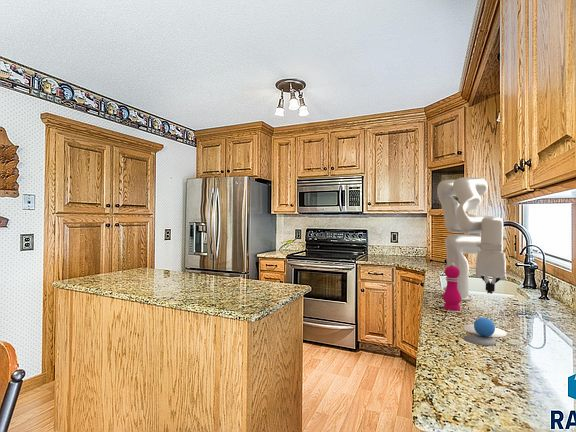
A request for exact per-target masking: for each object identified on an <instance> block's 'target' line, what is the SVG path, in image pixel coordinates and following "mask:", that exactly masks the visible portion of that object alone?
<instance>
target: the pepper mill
mask: <svg viewBox="0 0 576 432" xmlns="http://www.w3.org/2000/svg"><path fill="white" fill-rule="evenodd" d="M454 265H455V264H454V263H450V266H448V267H447V266H446V267H445V269H444V274H445V280H446V286H447V287H446V286H445V287H446V290H444V292H443V295H442V300H443V301H444V303H443V308H444V309H446V310H449V311H455V312H457V311H460V310H461V305H460V304H461V302H462V300H461V295H460V293H459V291H458V287H457V283H458V281H459V280H458V279H459V278H458V276H459V275H460V270H459V269H458V268H457V267H455V266H454Z"/></svg>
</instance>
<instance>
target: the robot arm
mask: <svg viewBox="0 0 576 432" xmlns="http://www.w3.org/2000/svg"><path fill="white" fill-rule="evenodd" d="M436 189H437V190H436V192H437V198H438V200H439V202H440V205H441V207H442V212H443V218H444V225H445V229H446V231H448V232H450V233H452V234H449V235H447V236H446V237H445V239H444V245H445V252H446V267H448V266H450V263H454V264H455V265H454V266H455V267H457V268H458V269H459V270H460V275H459V276H458V278H459V279H458V280H459V281H458V283H457V287H458V291H459V293H460V295H461V302H462V301H466V302H467V301H472V300H473V296H471V295H470V294H469V274H470V273H469V271H470V269H469V268H470V267H469V261H468V259H467V258H466V256H465V255H464V254H471V255H473V254H474V255H476V261H475V275H474V276H475V278H476V277H477V278H479V279H482V281H483V282H484V283H485V291H487V293H486V294H491V295H492V294H493V292H494V293H495V292H496V291H495V290H496V289H495V288H496V287H495V286H496V285H495V284H497V282H499V281H500V282H501V281H506V280H507V275H506V274H507V273H506V272H507V263H506V253H505V251H503V249H504V248H503V247H504V245H503V243H504V241H503V240H504V219H503V218H501V217H497V216H493V215H492V216H491V215H476V214H472V213H470V214H469V213H468V212H470V211H472V210H475V209H476V208H478V207H479V206H480V205H481V204H482V197H481V196H483V195H485V194H486V193H487V192H488V182H487V181H486V180H485V178H483V177H471V176H470V177H468V176H466V177H459V178H457V179H444V180H442V181H440V182H439V183H438V185H437V188H436ZM454 197H456V198H457V199H458V200H457V199H455V198H454ZM489 277H492V279H491V281H490V278H489ZM446 287H447V285H446V286H445V287H443V288H442V291H445V290H446Z"/></svg>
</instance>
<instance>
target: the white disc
mask: <svg viewBox="0 0 576 432" xmlns="http://www.w3.org/2000/svg"><path fill="white" fill-rule="evenodd" d="M462 329H463V330H464V331H466V332H468V333H470V334H472V335H479V334H478V333H477V332H476V331H475V329H474V323H469V324H465V325H463V326H462ZM507 334H508V333H507V332H506V331H505V330H503V329H501V328H498V327H495V331H494V333H493V334H492V335H491V336H488V338H504V337H507ZM479 336H481V335H479Z"/></svg>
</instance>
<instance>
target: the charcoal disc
mask: <svg viewBox="0 0 576 432" xmlns="http://www.w3.org/2000/svg"><path fill="white" fill-rule="evenodd" d="M463 340H464V341H465V342H467V343H470V344H474V345H477V346H485V347H492V346H496V345H497V341H495V340H494V339H492V338H491V337H484V336H480V335H476V334H466V335H464V336H463Z"/></svg>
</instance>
